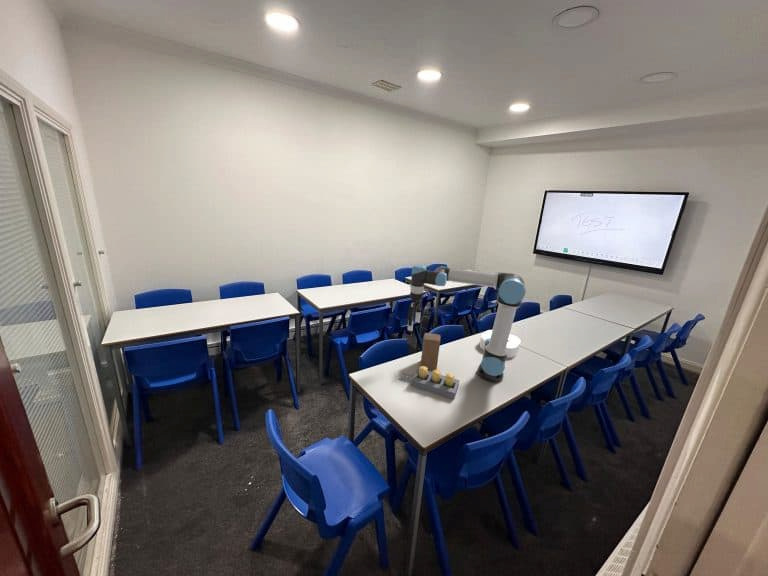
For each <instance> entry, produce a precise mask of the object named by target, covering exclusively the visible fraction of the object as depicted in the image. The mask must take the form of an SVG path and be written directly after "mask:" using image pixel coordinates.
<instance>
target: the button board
mask: <svg viewBox="0 0 768 576" xmlns="http://www.w3.org/2000/svg"><path fill="white" fill-rule="evenodd" d="M432 372H433V371H429V370H428V371H427V377H426V378H420V377H419V368H418V369H417V370H416V372H415V373H414V377H413V378H412V380H411V383H410V387H413V388H414V389H418V390H422V391H424V392H429V393H431V394H436V395H438V396H441V397H444V398H448V399H451V400H455V399H456V395H457V392H458V390H459V386H460V379H457V378H454V385H453V386H447V385H446V384H445V379H446V375H442V374H441V376H440V381H439V382H433V381H432Z"/></svg>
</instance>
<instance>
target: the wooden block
mask: <svg viewBox="0 0 768 576" xmlns="http://www.w3.org/2000/svg"><path fill="white" fill-rule="evenodd" d="M422 340H423V341H422V347H421V358H420V359H421V360H420V366H425V367H427V368H428V370H432V371H433V370H438V361H439V356H440V355H439V353H440V346H441V345H440V344H441V334H438V333H437V334H436V333H431V332H430V333H429V332H425V333H424V334H423V339H422ZM420 366H419V367H420Z"/></svg>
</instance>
